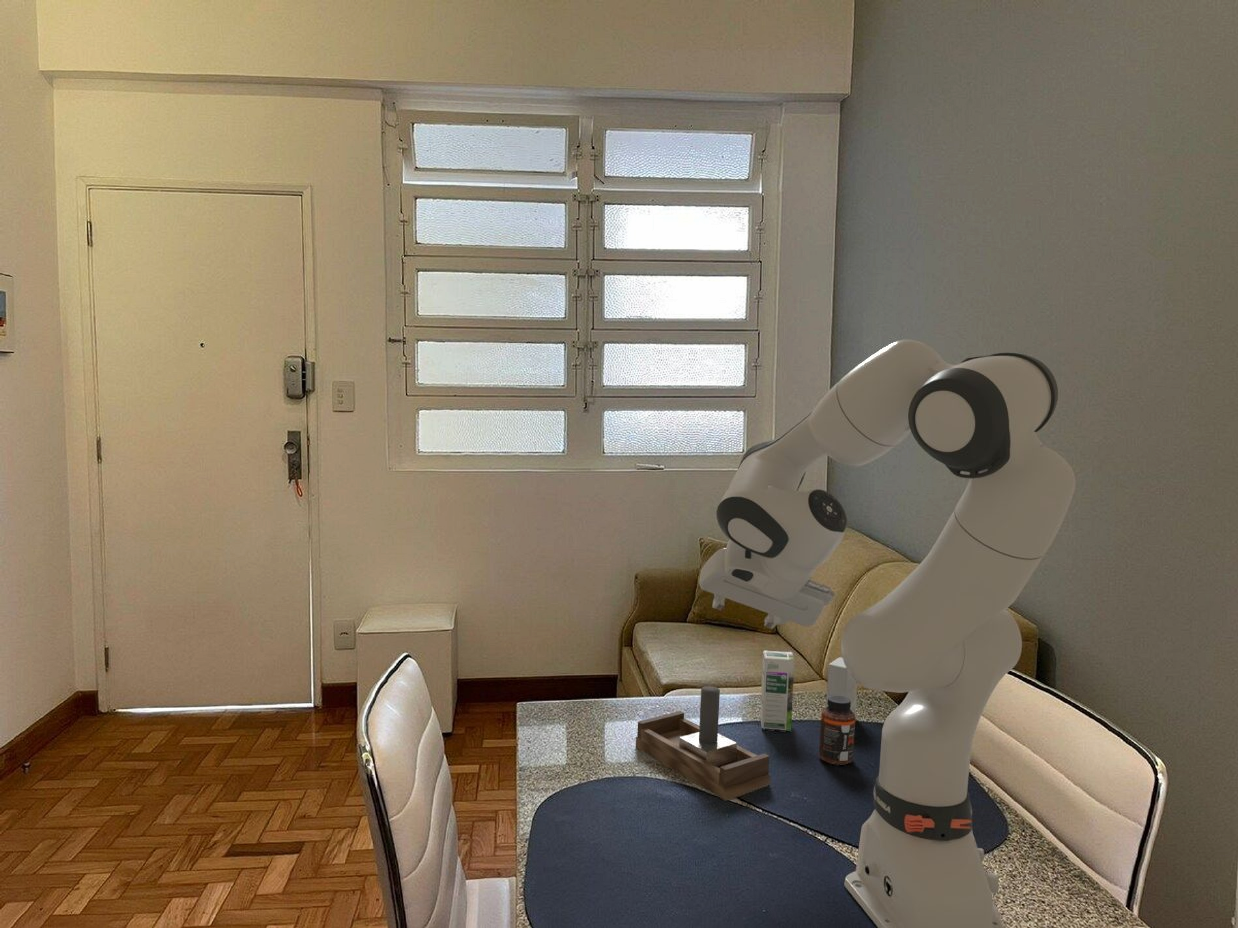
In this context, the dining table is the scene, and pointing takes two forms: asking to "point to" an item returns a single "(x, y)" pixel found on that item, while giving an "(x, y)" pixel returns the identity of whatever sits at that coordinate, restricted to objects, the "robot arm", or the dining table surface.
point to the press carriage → (710, 732)
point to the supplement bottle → (837, 731)
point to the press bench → (720, 780)
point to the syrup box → (777, 690)
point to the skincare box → (841, 682)
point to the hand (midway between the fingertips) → (742, 614)
